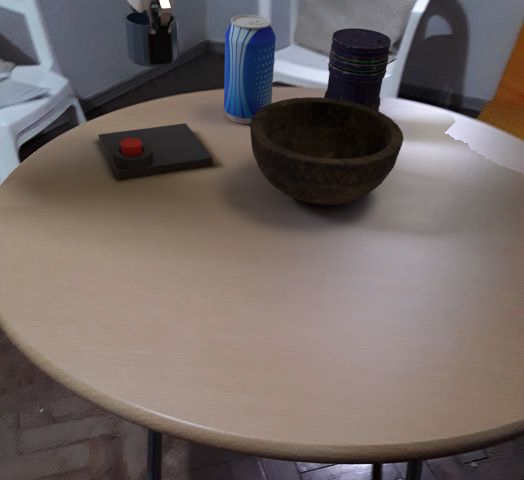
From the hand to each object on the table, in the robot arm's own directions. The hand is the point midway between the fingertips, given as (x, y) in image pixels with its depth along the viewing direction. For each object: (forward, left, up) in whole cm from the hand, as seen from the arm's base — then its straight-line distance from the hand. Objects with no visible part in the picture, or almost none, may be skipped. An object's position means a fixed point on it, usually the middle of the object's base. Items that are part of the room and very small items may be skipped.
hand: (152, 52), depth 91 cm
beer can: (+19, +9, -16) cm, 27 cm away
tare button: (-5, -3, -13) cm, 14 cm away
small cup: (0, 0, -1) cm, 1 cm away
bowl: (+19, -19, -16) cm, 31 cm away
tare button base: (-1, 0, -16) cm, 16 cm away
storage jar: (+35, 0, -16) cm, 39 cm away
